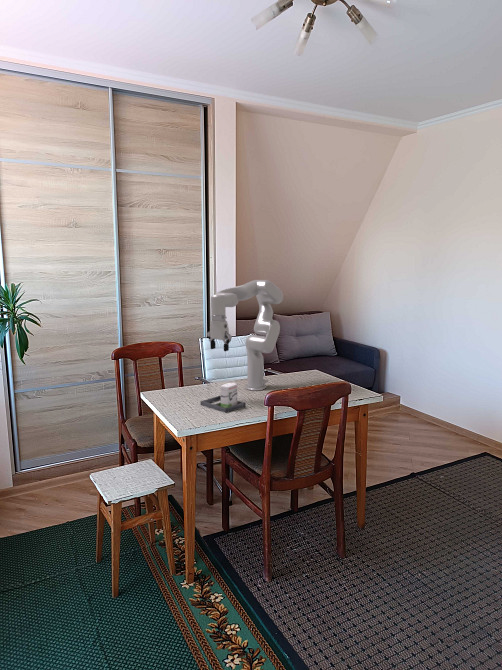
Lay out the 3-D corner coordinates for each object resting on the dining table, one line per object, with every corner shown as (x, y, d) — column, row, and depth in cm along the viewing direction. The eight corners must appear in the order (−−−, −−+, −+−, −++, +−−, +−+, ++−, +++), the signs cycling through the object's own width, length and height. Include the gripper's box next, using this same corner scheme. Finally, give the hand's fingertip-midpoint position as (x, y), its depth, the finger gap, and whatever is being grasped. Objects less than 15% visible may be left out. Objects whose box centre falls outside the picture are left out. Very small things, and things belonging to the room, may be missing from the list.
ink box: (228, 409, 236) (227, 387, 234) (220, 408, 239) (220, 385, 237) (237, 405, 243) (237, 383, 241) (230, 403, 246) (230, 382, 244)
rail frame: (219, 399, 255) (219, 395, 255) (245, 406, 242) (245, 402, 242) (200, 405, 245) (200, 401, 244) (226, 412, 232) (226, 408, 232)
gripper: (235, 318, 243) (236, 350, 246) (211, 315, 254) (212, 346, 257) (225, 320, 237) (226, 353, 240) (201, 317, 248) (203, 349, 251)
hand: (219, 349), depth 249 cm, fingers open, 9 cm apart
